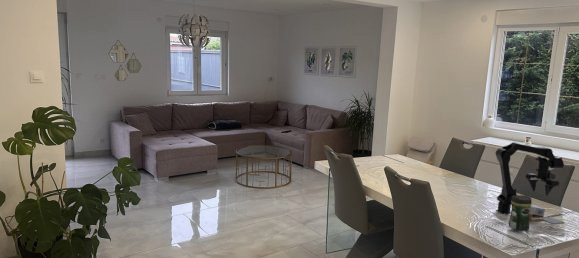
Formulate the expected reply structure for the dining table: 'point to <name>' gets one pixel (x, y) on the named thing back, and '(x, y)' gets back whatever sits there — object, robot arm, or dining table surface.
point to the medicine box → (537, 210)
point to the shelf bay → (534, 218)
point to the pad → (552, 220)
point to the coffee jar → (520, 212)
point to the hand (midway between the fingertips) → (540, 193)
